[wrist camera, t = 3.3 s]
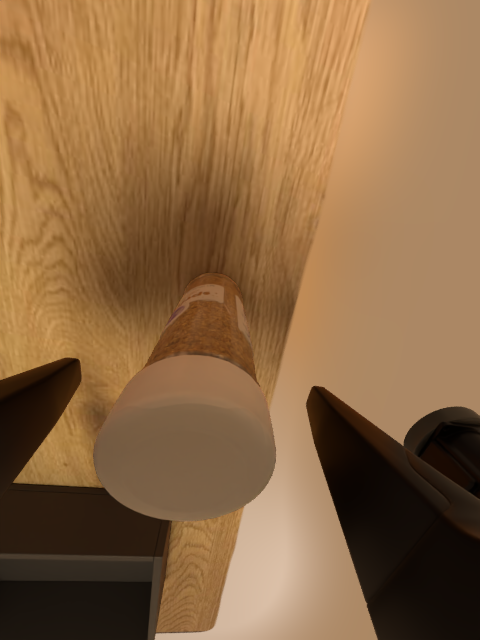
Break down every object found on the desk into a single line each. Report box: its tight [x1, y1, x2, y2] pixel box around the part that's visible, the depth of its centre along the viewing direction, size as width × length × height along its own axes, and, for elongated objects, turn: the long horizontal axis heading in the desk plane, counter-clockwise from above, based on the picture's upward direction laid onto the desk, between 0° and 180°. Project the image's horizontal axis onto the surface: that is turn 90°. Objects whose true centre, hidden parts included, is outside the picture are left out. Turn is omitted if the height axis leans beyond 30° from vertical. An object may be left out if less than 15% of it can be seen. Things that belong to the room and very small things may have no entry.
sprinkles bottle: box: [93, 273, 276, 521], centre depth 12 cm, size 5×5×13 cm
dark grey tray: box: [0, 484, 172, 640], centre depth 26 cm, size 22×20×6 cm
